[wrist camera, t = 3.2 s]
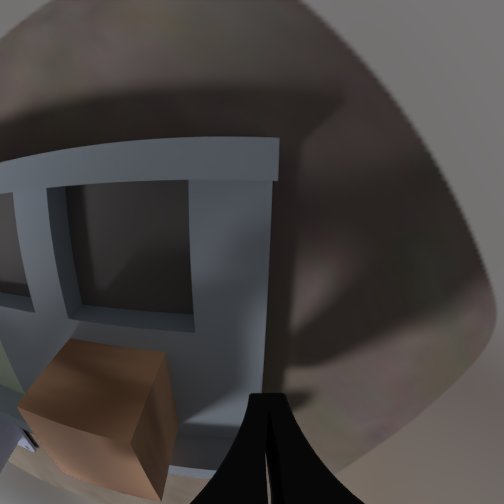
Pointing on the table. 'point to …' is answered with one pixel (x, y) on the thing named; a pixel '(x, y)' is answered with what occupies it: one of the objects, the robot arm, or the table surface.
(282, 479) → the robot arm
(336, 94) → the table surface
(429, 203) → the table surface
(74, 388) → the block
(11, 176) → the tray
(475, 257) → the table surface
